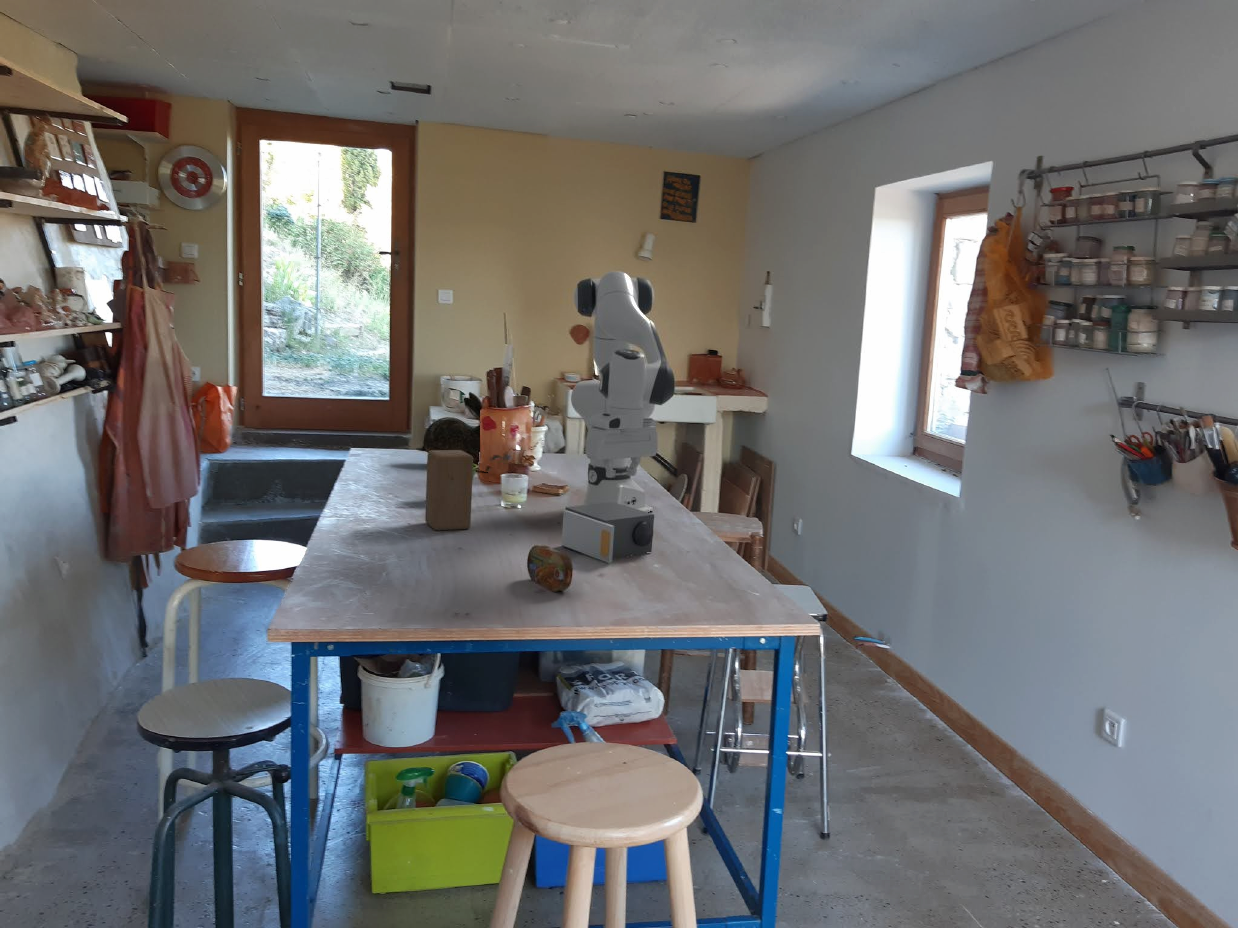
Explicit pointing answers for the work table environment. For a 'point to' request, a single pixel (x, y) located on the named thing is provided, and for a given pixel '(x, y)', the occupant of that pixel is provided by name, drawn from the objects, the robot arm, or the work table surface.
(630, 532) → the cabinet body
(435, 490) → the wooden block
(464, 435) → the sculpture
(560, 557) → the tin
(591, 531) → the door
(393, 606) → the work table surface
